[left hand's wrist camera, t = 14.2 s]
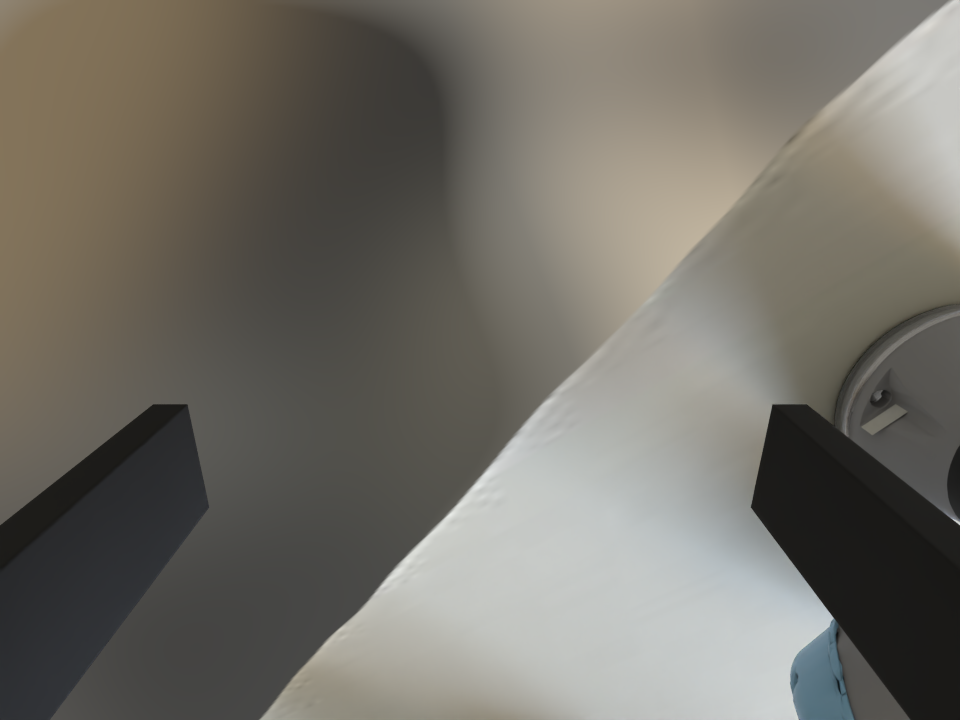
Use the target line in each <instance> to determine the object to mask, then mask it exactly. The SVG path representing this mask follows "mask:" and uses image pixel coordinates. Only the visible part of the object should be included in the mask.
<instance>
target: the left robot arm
mask: <svg viewBox="0 0 960 720" xmlns="http://www.w3.org/2000/svg"><path fill="white" fill-rule="evenodd" d="M208 508H209V505H208V500H207V495H206V490H205V486H204V481H203V476H202V471H201V467H200V462H199V457H198V452H197V448H196V443H195V438H194V433H193V429H192V424H191V419H190V414H189V410H188V405H186V404H182V405H180V404H172V405H171V404H167V405H165V404H164V405H163V404H162V405H161V404H159V405H158V404H157V405H156V404H155V405H152V406H151V407H149V408H148V409H147V410H146V411H144V412H143V413H142V414H141V415H139V416H138V417H137V418H136V419H134V420H133V421H132V422H130V423H129V424H128V425H127V426H125V427H124V428H123V429H122V430H120V431H119V432H118V433H117V434H115V435H114V436H113V437H112V438H110V439H109V440H108V441H107V442H105V443H104V444H103V445H101V446H100V447H99V448H98V449H96V450H95V451H94V452H93V453H91V454H90V455H89V456H88V457H86V458H85V459H84V460H82V461H81V462H80V463H79V464H77V465H76V466H75V467H74V468H72V469H71V470H70V471H68V472H67V473H66V474H65V475H63V476H62V477H61V478H60V479H58V480H57V481H56V482H55V483H53V484H52V485H51V486H49V487H48V488H47V489H46V490H44V491H43V492H42V493H41V494H39V495H38V496H37V497H36V498H34V499H33V500H32V501H30V502H29V503H28V504H27V505H25V506H24V507H23V508H22V509H20V510H19V511H18V512H17V513H15V514H14V515H13V516H12V517H10V518H9V519H8V520H7V521H5V522H4V523H3V524H1V525H0V720H50V719H51V717H52V716H53V715H54V713H55V712H56V711H57V709H58V708H59V707H60V705H61V704H62V703H63V701H64V700H65V699H66V697H67V696H68V695H69V693H70V692H71V691H72V689H73V688H74V687H75V685H76V684H77V683H78V681H79V680H80V679H81V677H82V676H83V675H84V673H85V672H86V671H87V669H88V668H89V667H90V665H91V664H92V663H93V661H94V660H95V659H96V657H97V656H98V655H99V653H100V652H101V651H102V649H103V648H104V647H105V645H106V644H107V643H108V641H109V640H110V639H111V637H112V636H113V635H114V633H115V632H116V631H117V629H118V628H119V627H120V625H121V624H122V623H123V621H124V620H125V619H126V617H127V616H128V615H129V613H130V612H131V611H132V609H133V608H134V607H135V605H136V604H137V603H138V601H139V600H140V599H141V597H142V596H143V595H144V593H145V592H146V591H147V589H148V588H149V587H150V585H151V584H152V583H153V581H154V580H155V579H156V577H157V576H158V575H159V573H160V572H161V571H162V569H163V568H164V567H165V565H166V564H167V563H168V561H169V560H170V559H171V557H172V556H173V555H174V553H175V552H176V551H177V549H178V548H179V547H180V545H181V544H182V543H183V541H184V540H185V539H186V537H187V536H188V535H189V533H190V532H191V531H192V529H193V528H194V527H195V525H196V524H197V523H198V521H199V520H200V519H201V517H202V516H203V515H204V513H205V512H206V511H207V509H208ZM751 508H752V509H753V511H754V512H755V513H756V515H757V516H758V517H759V519H760V520H761V521H762V523H763V524H764V525H765V527H766V528H767V529H768V531H769V532H770V533H771V535H772V536H773V537H774V539H775V540H776V541H777V543H778V544H779V545H780V547H781V548H782V549H783V551H784V552H785V553H786V555H787V556H788V557H789V559H790V560H791V561H792V563H793V564H794V565H795V567H796V568H797V569H798V571H799V572H800V573H801V575H802V576H803V577H804V579H805V580H806V581H807V583H808V584H809V585H810V587H811V588H812V589H813V591H814V592H815V593H816V595H817V596H818V597H819V599H820V600H821V601H822V603H823V604H824V605H825V607H826V608H827V609H828V611H829V612H830V613H831V615H832V616H833V617H834V619H833V620H832V621H831V624H830V627H829V628H828V629H826V630H825V631H824V632H823V633H822V634H820V635H819V636H818V637H817V638H816V639H814V640H813V641H812V642H811V643H809V644H808V645H807V646H806V647H805V648H803V649H802V650H801V651H800V652H799V653H798V654H797V656H796V657H795V659H794V661H793V664H792V667H791V674H790V678H791V682H790V684H791V689H792V694H793V702H794V705H795V709H796V712H797V715H798V718H799V720H960V525H959V524H957V523H956V522H955V521H954V520H952V519H955V520H958V521H960V304H956V305H950V306H945V307H940V308H937V309H934V310H930V311H927V312H925V313H922V314H920V315H917V316H915V317H913V318H911V319H909V320H907V321H905V322H904V323H902V324H900V325H898V326H897V327H895V328H894V329H892V330H891V331H889V332H888V333H887V334H885V335H884V336H883V337H881V338H880V339H879V340H878V341H877V342H876V343H875V344H873V345H872V346H871V347H870V348H869V349H868V350H867V351H866V352H865V354H864V355H863V356H862V357H861V358H860V359H859V361H858V362H857V363H856V365H855V366H854V368H853V369H852V371H851V372H850V374H849V375H848V377H847V379H846V381H845V383H844V385H843V387H842V390H841V392H840V395H839V398H838V401H837V406H836V411H835V426H833V425H832V424H831V423H830V422H828V421H827V420H826V419H824V418H823V417H822V416H821V415H819V414H818V413H817V412H816V411H814V410H813V409H812V408H811V407H809V406H808V405H807V404H773V405H772V410H771V414H770V419H769V424H768V429H767V433H766V438H765V443H764V448H763V452H762V457H761V462H760V467H759V471H758V476H757V481H756V485H755V490H754V495H753V500H752V504H751ZM951 518H952V519H951Z"/></svg>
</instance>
